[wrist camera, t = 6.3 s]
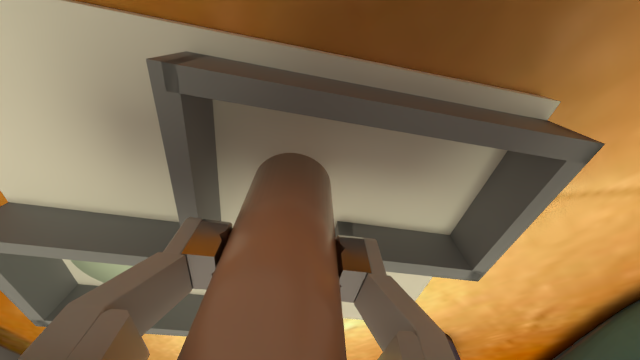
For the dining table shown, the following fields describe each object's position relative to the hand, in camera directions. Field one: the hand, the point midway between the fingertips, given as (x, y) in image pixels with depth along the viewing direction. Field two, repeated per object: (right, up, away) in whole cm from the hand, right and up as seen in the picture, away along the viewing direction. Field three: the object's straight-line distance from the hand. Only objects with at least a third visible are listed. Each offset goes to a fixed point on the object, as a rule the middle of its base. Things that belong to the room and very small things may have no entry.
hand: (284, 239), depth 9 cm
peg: (0, +2, +3) cm, 4 cm away
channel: (-4, 0, +8) cm, 9 cm away
